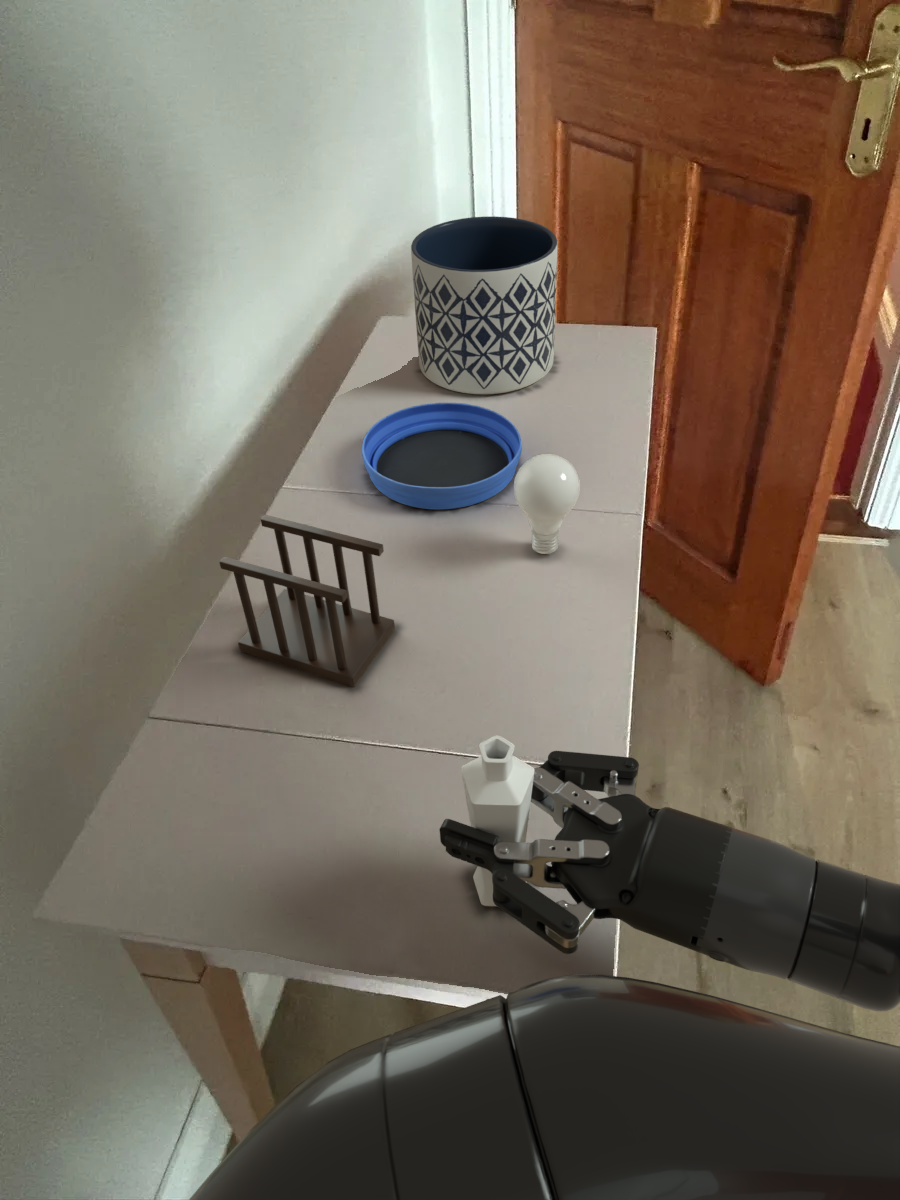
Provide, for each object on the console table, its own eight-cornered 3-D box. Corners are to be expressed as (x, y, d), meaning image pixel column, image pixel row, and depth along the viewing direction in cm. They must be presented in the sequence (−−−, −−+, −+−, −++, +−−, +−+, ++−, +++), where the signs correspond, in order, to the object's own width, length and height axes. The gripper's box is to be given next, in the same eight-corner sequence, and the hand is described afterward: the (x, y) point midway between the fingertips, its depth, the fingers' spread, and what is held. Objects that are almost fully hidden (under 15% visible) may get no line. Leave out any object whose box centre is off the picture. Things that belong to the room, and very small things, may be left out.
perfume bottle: (453, 890, 64) (441, 755, 54) (492, 847, 67) (487, 711, 57) (505, 927, 62) (502, 794, 52) (543, 882, 65) (547, 747, 55)
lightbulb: (541, 524, 96) (543, 433, 89) (588, 549, 93) (595, 457, 85) (500, 552, 93) (499, 461, 86) (548, 579, 89) (551, 486, 82)
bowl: (373, 525, 97) (369, 498, 95) (357, 437, 111) (354, 411, 108) (537, 502, 99) (538, 475, 97) (503, 419, 112) (503, 393, 110)
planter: (440, 408, 115) (433, 281, 104) (404, 347, 128) (394, 228, 117) (574, 383, 118) (581, 257, 107) (526, 325, 131) (527, 208, 121)
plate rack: (395, 628, 85) (385, 541, 78) (354, 687, 80) (339, 599, 73) (286, 597, 89) (267, 511, 82) (240, 651, 84) (215, 564, 77)
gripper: (754, 762, 56) (498, 687, 62) (703, 967, 47) (405, 855, 53) (735, 832, 61) (499, 757, 67) (684, 1031, 52) (415, 922, 57)
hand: (459, 800), depth 60 cm, fingers closed on perfume bottle, 4 cm apart
